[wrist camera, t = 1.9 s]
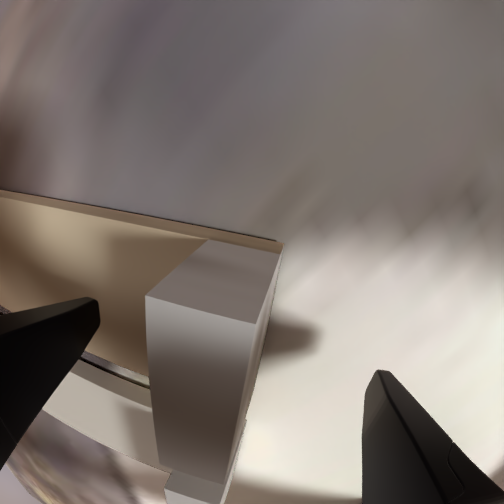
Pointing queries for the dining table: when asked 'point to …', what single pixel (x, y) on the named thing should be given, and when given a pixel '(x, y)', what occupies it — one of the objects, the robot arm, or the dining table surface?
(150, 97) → the dining table surface
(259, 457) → the dining table surface
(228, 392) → the birch strip
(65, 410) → the grey strip
